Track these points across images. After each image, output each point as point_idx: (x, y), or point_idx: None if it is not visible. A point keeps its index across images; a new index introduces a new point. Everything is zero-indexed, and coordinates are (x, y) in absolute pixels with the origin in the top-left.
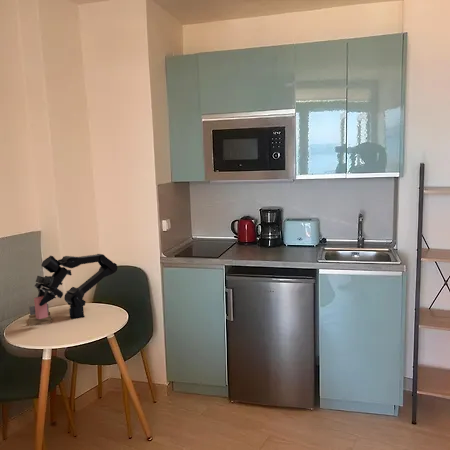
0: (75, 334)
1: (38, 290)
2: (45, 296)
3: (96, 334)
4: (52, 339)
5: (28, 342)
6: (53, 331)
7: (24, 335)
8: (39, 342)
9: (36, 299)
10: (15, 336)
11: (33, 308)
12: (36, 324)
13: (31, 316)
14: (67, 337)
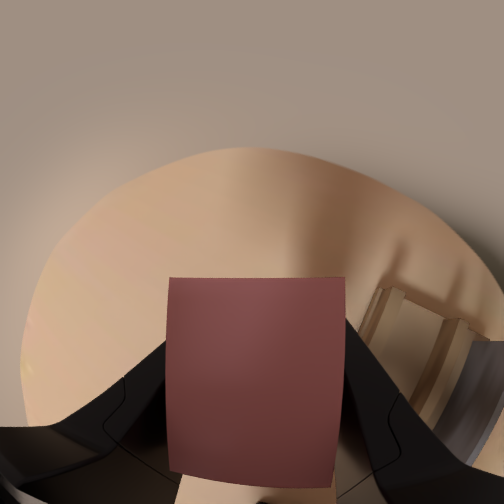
0: (63, 361)
1: (493, 487)
2: (77, 411)
3: (28, 391)
4: (86, 270)
5: (143, 185)
6: (162, 338)
7: (244, 204)
8: (105, 217)
9: (219, 279)
10: (272, 169)
11: (501, 369)
12: (358, 331)
13: (450, 334)
14: (61, 321)
